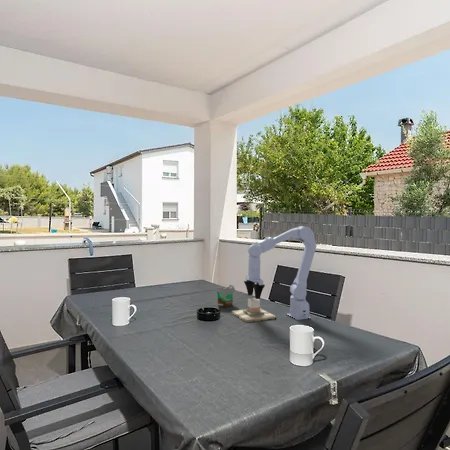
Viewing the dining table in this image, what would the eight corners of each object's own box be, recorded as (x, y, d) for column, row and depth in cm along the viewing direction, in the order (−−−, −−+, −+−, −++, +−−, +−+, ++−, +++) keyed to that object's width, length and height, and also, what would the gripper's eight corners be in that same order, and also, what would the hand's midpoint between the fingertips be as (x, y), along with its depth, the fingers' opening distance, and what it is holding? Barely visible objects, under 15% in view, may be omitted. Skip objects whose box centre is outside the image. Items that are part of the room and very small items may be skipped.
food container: (225, 309, 187) (225, 289, 187) (216, 307, 191) (216, 288, 190) (239, 304, 197) (239, 286, 196) (230, 302, 201) (230, 284, 200)
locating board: (276, 318, 171) (276, 313, 171) (246, 322, 165) (246, 317, 165) (260, 310, 186) (260, 305, 186) (231, 313, 179) (231, 308, 179)
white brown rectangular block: (259, 314, 174) (260, 300, 173) (251, 315, 172) (251, 300, 172) (255, 312, 178) (256, 297, 178) (247, 312, 176) (247, 298, 176)
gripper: (240, 267, 179) (240, 294, 180) (254, 272, 166) (253, 301, 167) (253, 266, 182) (252, 293, 183) (267, 271, 169) (266, 299, 169)
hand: (253, 297), depth 175 cm, fingers open, 7 cm apart
